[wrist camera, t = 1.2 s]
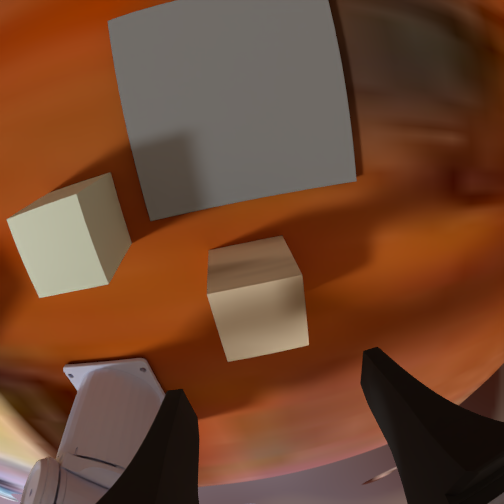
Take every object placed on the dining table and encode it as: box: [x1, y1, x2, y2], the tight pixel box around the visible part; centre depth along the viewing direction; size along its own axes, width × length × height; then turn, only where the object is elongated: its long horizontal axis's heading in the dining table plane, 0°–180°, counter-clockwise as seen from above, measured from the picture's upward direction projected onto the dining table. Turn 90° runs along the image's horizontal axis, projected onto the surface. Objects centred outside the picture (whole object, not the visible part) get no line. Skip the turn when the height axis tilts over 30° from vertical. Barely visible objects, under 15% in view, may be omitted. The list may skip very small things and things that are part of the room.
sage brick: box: [7, 172, 132, 298], centre depth 15 cm, size 4×4×5 cm
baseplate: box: [108, 0, 356, 221], centre depth 15 cm, size 12×12×1 cm
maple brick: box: [207, 235, 309, 362], centre depth 18 cm, size 4×4×5 cm
